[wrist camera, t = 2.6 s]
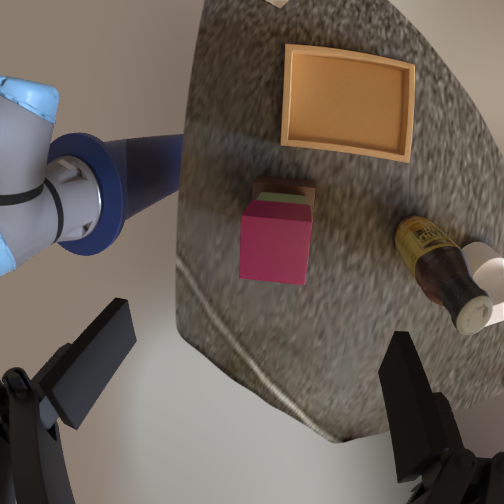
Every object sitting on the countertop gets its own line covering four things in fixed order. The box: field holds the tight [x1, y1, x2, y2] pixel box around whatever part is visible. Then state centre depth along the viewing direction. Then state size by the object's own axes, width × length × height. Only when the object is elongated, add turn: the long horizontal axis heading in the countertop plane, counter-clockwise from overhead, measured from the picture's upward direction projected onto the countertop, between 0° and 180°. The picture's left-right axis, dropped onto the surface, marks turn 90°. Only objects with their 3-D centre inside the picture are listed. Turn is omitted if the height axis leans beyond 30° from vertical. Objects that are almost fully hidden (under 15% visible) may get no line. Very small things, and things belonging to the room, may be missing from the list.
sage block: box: [256, 192, 307, 204], centre depth 31 cm, size 5×5×5 cm
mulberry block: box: [239, 200, 313, 285], centre depth 26 cm, size 6×6×6 cm
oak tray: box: [281, 44, 415, 163], centre depth 30 cm, size 16×13×3 cm
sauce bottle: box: [394, 215, 493, 335], centre depth 27 cm, size 6×6×20 cm
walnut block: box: [252, 176, 316, 221], centre depth 35 cm, size 7×7×5 cm
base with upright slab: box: [462, 242, 504, 326], centre depth 31 cm, size 9×9×12 cm
